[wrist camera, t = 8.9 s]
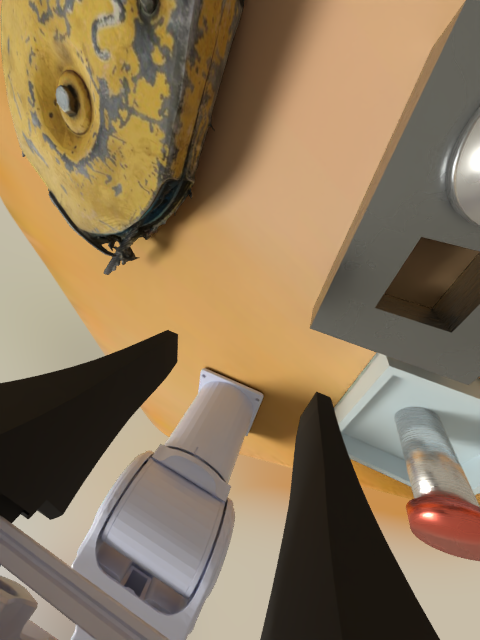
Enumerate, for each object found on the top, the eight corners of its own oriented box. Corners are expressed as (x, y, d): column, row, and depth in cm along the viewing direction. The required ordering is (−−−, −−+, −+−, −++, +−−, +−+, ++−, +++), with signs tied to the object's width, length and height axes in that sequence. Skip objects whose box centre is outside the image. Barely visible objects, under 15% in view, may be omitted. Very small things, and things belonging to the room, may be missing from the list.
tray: (439, 475, 22) (450, 504, 20) (321, 423, 24) (320, 445, 22) (565, 409, 15) (601, 444, 13) (382, 344, 17) (389, 365, 15)
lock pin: (427, 443, 19) (472, 566, 13) (376, 422, 20) (395, 528, 14) (463, 416, 17) (541, 553, 11) (404, 394, 18) (441, 507, 12)
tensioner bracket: (447, 355, 16) (476, 398, 12) (313, 309, 17) (308, 336, 14) (741, 76, 8) (1038, -6, 4) (432, 47, 9) (483, -25, 6)
